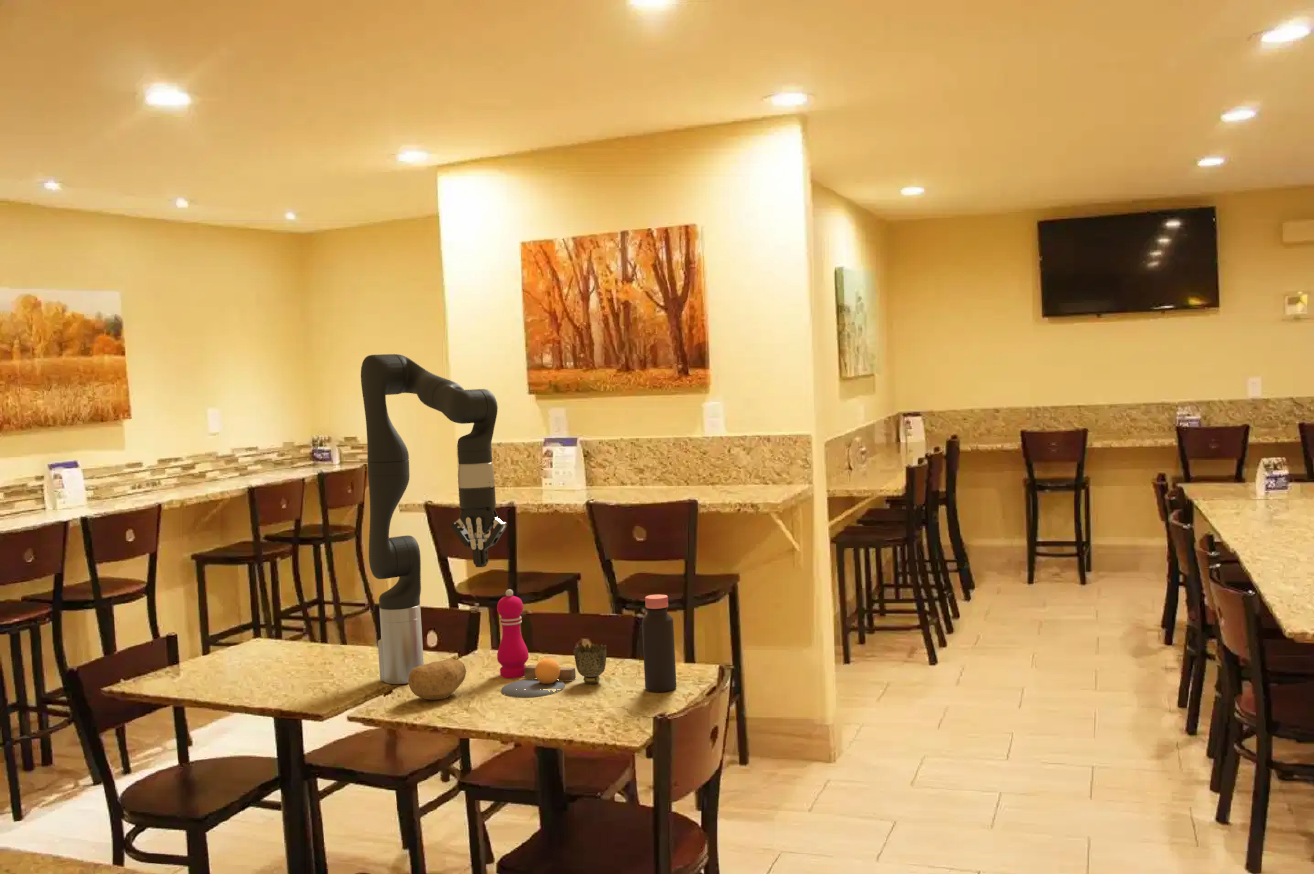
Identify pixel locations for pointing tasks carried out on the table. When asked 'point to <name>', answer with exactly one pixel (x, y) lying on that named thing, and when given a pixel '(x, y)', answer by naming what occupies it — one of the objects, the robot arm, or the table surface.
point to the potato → (437, 679)
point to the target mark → (530, 688)
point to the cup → (590, 662)
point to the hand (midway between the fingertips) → (481, 566)
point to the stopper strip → (564, 675)
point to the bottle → (658, 645)
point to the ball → (547, 671)
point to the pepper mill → (511, 637)
